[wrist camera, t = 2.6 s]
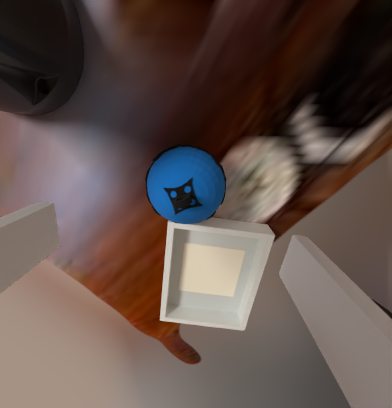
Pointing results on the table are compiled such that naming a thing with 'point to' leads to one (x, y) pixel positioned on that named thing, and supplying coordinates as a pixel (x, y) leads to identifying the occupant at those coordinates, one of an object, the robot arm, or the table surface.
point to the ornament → (185, 184)
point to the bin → (213, 271)
